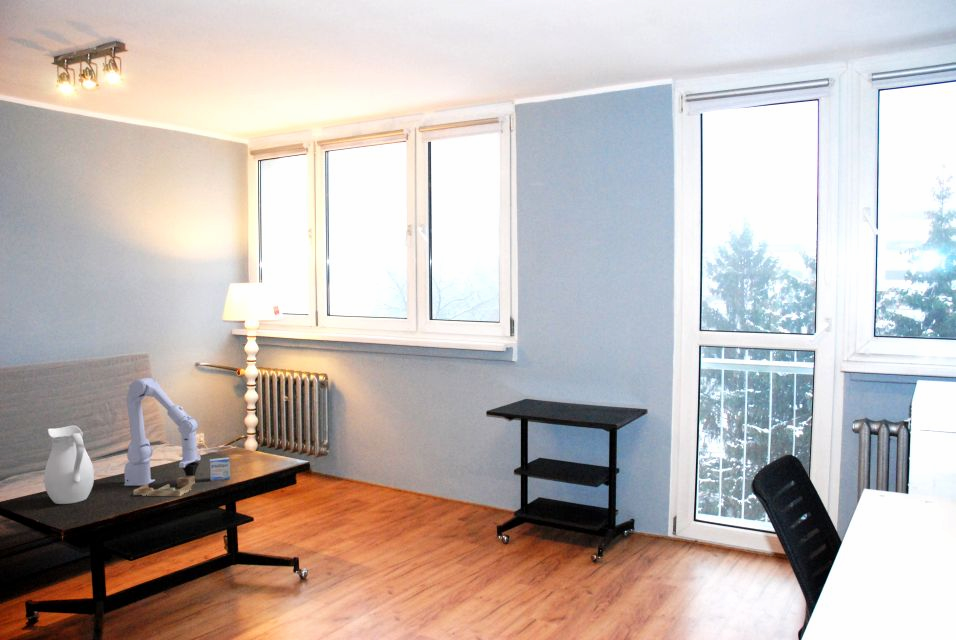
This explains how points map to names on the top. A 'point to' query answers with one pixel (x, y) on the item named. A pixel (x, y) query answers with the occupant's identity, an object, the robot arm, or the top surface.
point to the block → (185, 481)
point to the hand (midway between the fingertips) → (191, 480)
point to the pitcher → (68, 467)
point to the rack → (161, 491)
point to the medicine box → (219, 468)
